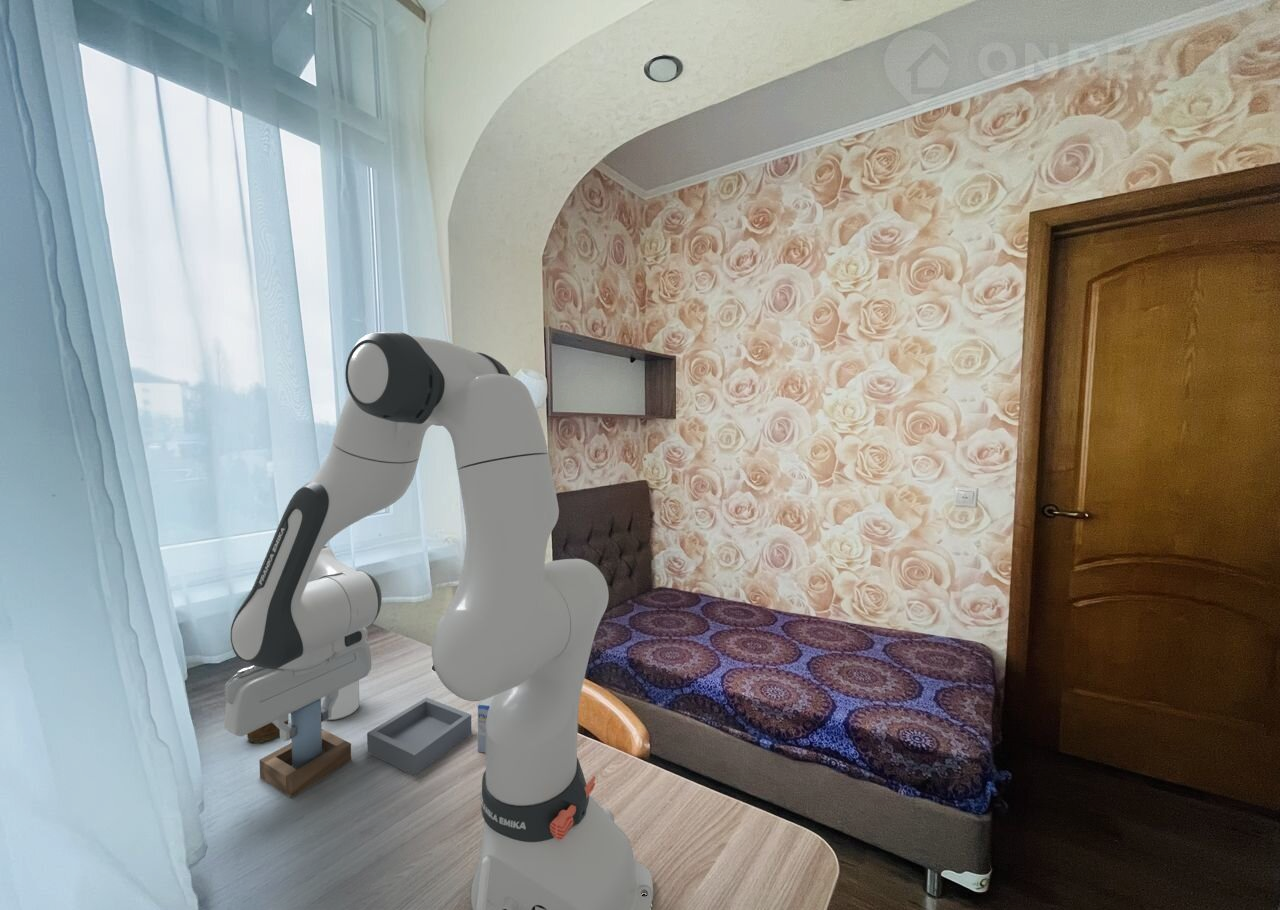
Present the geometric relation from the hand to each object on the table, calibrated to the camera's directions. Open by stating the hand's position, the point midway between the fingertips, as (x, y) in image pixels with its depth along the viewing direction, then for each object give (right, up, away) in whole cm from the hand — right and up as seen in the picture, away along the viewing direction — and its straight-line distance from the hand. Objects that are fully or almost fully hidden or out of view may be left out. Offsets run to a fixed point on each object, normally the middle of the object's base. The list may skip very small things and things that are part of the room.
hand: (306, 728), depth 75 cm
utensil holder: (-14, -7, +9) cm, 18 cm away
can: (-5, -6, +16) cm, 18 cm away
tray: (+15, -7, +7) cm, 18 cm away
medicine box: (+29, -7, +8) cm, 31 cm away
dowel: (0, -6, 0) cm, 6 cm away
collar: (0, -7, 0) cm, 7 cm away
